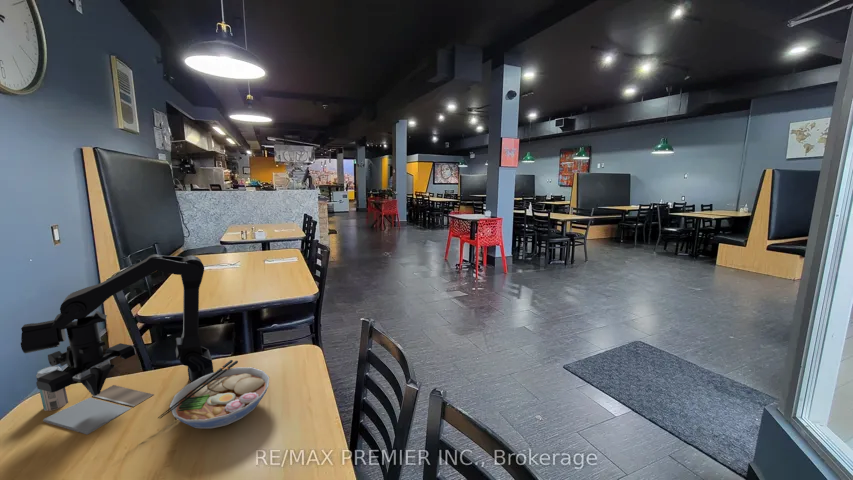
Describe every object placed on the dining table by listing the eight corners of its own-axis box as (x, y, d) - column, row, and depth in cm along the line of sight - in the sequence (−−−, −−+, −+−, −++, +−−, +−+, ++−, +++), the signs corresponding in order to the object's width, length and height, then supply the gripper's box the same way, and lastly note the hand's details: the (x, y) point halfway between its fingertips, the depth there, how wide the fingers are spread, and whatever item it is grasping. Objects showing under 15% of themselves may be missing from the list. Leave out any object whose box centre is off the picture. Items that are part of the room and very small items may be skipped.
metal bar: (154, 398, 100) (153, 394, 100) (133, 411, 95) (133, 406, 95) (114, 389, 104) (113, 384, 104) (92, 400, 99) (91, 396, 99)
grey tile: (131, 412, 94) (131, 408, 94) (87, 436, 85) (87, 431, 85) (90, 401, 99) (89, 397, 99) (43, 423, 89) (43, 419, 89)
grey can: (74, 404, 98) (66, 365, 95) (55, 415, 93) (45, 375, 91) (59, 403, 98) (50, 364, 96) (39, 414, 94) (29, 373, 91)
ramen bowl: (227, 459, 79) (223, 427, 78) (145, 443, 84) (140, 413, 82) (290, 392, 103) (288, 367, 102) (224, 382, 108) (221, 358, 106)
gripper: (104, 321, 101) (113, 371, 104) (14, 353, 83) (29, 411, 86) (132, 326, 98) (141, 377, 101) (46, 360, 80) (59, 420, 83)
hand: (96, 394), depth 93 cm, fingers closed
